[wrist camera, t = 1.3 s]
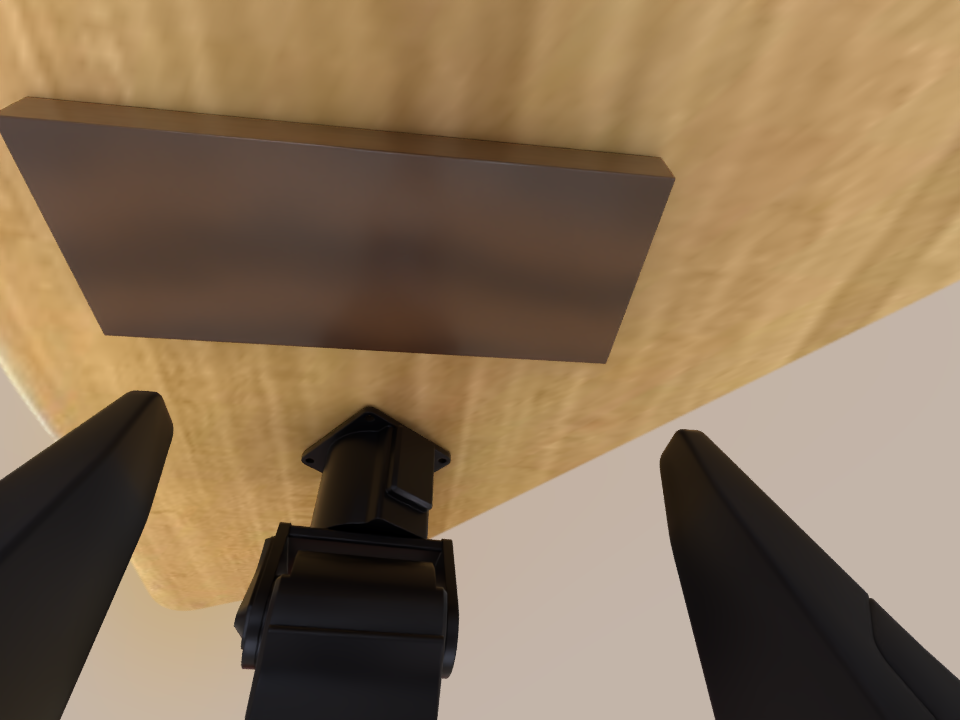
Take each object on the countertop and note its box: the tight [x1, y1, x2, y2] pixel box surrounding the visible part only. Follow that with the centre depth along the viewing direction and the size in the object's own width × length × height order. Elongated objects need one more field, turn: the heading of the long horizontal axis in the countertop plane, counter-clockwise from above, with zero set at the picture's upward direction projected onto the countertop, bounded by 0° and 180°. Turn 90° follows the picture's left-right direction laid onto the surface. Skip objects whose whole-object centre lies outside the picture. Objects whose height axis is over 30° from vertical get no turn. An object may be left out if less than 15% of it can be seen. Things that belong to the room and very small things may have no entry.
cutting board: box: [0, 97, 675, 364], centre depth 21 cm, size 9×22×2 cm, turn 84°
